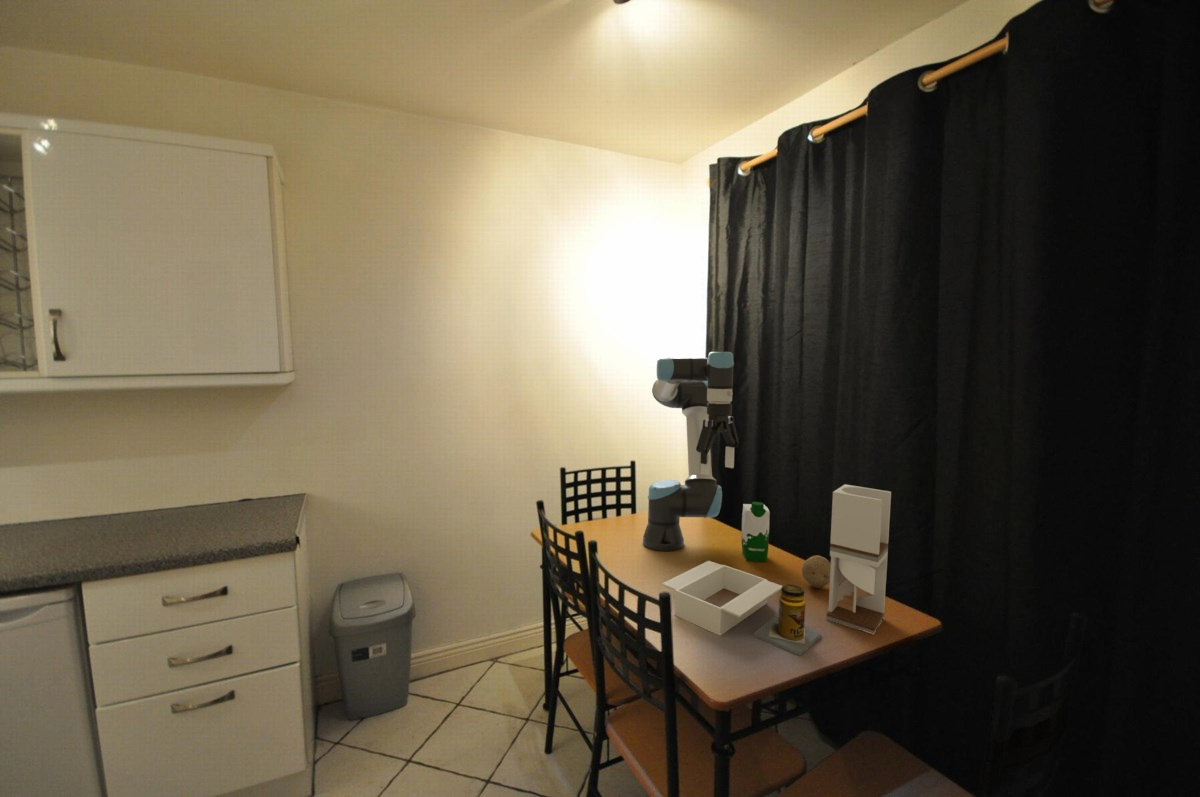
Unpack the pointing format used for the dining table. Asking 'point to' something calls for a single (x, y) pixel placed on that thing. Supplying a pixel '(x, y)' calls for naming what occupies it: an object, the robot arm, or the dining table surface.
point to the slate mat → (788, 645)
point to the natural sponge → (817, 571)
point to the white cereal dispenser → (858, 556)
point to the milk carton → (755, 531)
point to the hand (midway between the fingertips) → (717, 470)
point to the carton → (710, 581)
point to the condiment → (790, 615)
